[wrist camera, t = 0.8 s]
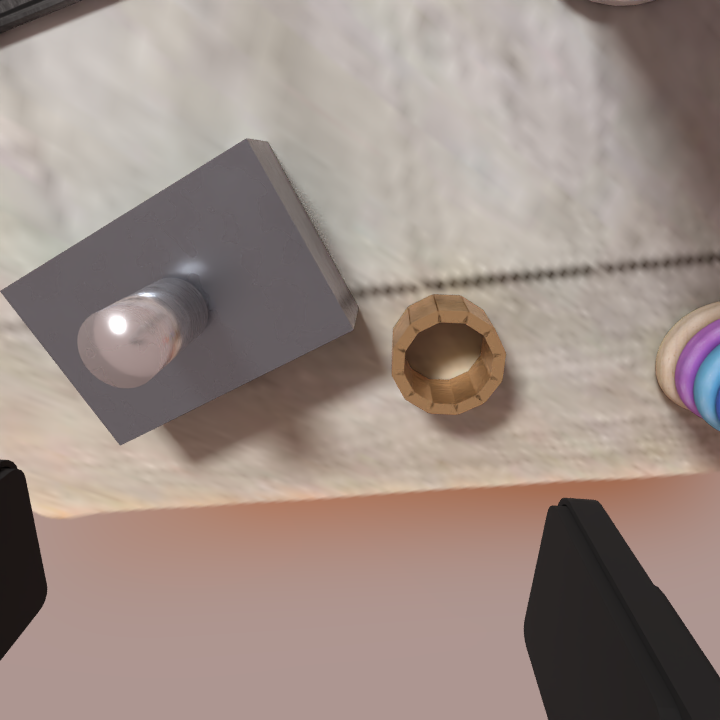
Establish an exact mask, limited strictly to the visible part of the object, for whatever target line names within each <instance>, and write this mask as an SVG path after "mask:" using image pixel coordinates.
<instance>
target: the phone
mask: <svg viewBox="0 0 720 720" xmlns="http://www.w3.org/2000/svg"><path fill="white" fill-rule="evenodd" d="M79 1H81V0H0V33H2V32H4V31H7V30H9V29H12V28H14V27H17V26H19V25H22V24H24V23H27V22H29V21H32V20H34V19H37V18H39V17H42V16H44V15H47V14H49V13H52V12H54V11H57V10H59V9H61V8H64V7H66V6H69V5H71V4H74V3H76V2H79Z"/></svg>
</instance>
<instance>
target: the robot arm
mask: <svg viewBox="0 0 720 720" xmlns="http://www.w3.org/2000/svg"><path fill="white" fill-rule="evenodd" d="M589 1H592V2H596V3H601V4H607V5H612V6H622V5H638V4H642V3H646V2H650V1H654V0H589ZM46 595H47V583H46V578H45V573H44V568H43V564H42V558H41V554H40V548H39V543H38V538H37V533H36V528H35V523H34V518H33V513H32V508H31V503H30V498H29V493H28V488H27V483H26V478H25V475H24V473H23V472H22V471H21V470H19V469H17V466H16V465H15V464H14V462H12V461H9V460H0V660H1V659H2V658H3V657H4V655H5V654H6V653H7V651H8V650H9V649H10V648H11V646H12V645H13V644H14V642H15V641H16V640H17V639H18V637H19V636H20V635H21V634H22V632H23V631H24V630H25V628H26V627H27V626H28V625H29V623H30V622H31V621H32V619H33V618H34V617H35V616H36V614H37V613H38V612H39V610H40V609H41V608H42V606H43V604H44V602H45V599H46ZM524 637H525V643H526V647H527V651H528V654H529V657H530V661H531V664H532V667H533V670H534V674H535V677H536V680H537V684H538V687H539V690H540V694H541V697H542V700H543V703H544V707H545V710H546V713H547V717H548V720H720V677H719V675H718V674H717V673H716V671H715V670H714V668H713V666H712V665H711V663H710V662H709V660H708V659H707V657H706V656H705V655H704V653H703V651H702V650H701V649H700V647H699V646H698V644H697V643H696V641H695V639H694V638H693V636H692V635H691V634H690V632H689V630H688V629H687V627H686V626H685V624H684V623H683V622H682V620H681V618H680V617H679V615H678V614H677V612H676V611H675V609H674V608H673V607H672V605H671V603H670V602H669V600H668V599H667V597H666V596H665V595H664V594H663V593H662V591H661V590H660V589H659V588H658V587H657V586H655V585H654V584H653V583H652V581H651V580H650V578H649V577H648V575H647V574H646V572H645V571H644V569H643V567H642V566H641V565H640V563H639V561H638V560H637V558H636V557H635V555H634V554H633V552H632V551H631V550H630V548H629V546H628V545H627V543H626V542H625V540H624V539H623V537H622V535H621V534H620V533H619V531H618V529H617V528H616V527H615V525H614V523H613V522H612V520H611V519H610V517H609V516H608V514H607V513H606V511H605V510H604V508H603V507H602V505H601V504H600V503H599V502H598V501H596V500H589V499H588V500H587V499H574V498H562V499H561V500H560V502H559V504H558V506H550V507H549V509H548V512H547V517H546V522H545V526H544V531H543V536H542V540H541V545H540V550H539V555H538V560H537V564H536V569H535V574H534V578H533V583H532V588H531V592H530V598H529V602H528V607H527V611H526V616H525V622H524Z"/></svg>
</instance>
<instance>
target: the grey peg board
mask: <svg viewBox="0 0 720 720" xmlns="http://www.w3.org/2000/svg"><path fill="white" fill-rule="evenodd" d="M0 292H1V293H2V294H3V296H4V297H5V298H6V299H7V301H8V302H9V303H10V305H11V306H12V307H13V308H14V310H15V311H16V312H17V314H18V315H19V316H20V317H21V319H22V320H23V321H24V323H25V324H26V325H27V326H28V328H29V329H30V330H31V332H32V333H33V334H34V335H35V337H36V338H37V339H38V341H39V342H40V343H41V344H42V346H43V347H44V348H45V350H46V351H47V352H48V353H49V355H50V356H51V357H52V359H53V360H54V361H55V362H56V364H57V365H58V366H59V368H60V369H61V370H62V371H63V373H64V374H65V375H66V377H67V378H68V379H69V380H70V382H71V383H72V384H73V386H74V387H75V388H76V389H77V391H78V392H79V393H80V395H81V396H82V397H83V398H84V400H85V401H86V402H87V404H88V405H89V406H90V407H91V409H92V410H93V411H94V413H95V414H96V415H97V416H98V418H99V419H100V420H101V422H102V423H103V424H104V425H105V427H106V428H107V429H108V431H109V432H110V433H111V434H112V436H113V437H114V438H115V440H116V441H117V442H118V443H119V445H122V444H124V443H126V442H128V441H130V440H133V439H135V438H137V437H139V436H141V435H143V434H145V433H147V432H149V431H151V430H153V429H155V428H157V427H159V426H161V425H163V424H165V423H167V422H169V421H171V420H173V419H175V418H177V417H179V416H181V415H183V414H185V413H187V412H189V411H191V410H193V409H195V408H197V407H199V406H201V405H203V404H205V403H207V402H209V401H211V400H213V399H215V398H217V397H219V396H221V395H223V394H225V393H227V392H229V391H231V390H233V389H235V388H237V387H239V386H241V385H243V384H245V383H247V382H249V381H251V380H253V379H255V378H257V377H259V376H262V375H264V374H266V373H268V372H270V371H272V370H274V369H276V368H278V367H280V366H282V365H284V364H286V363H288V362H290V361H292V360H294V359H296V358H298V357H300V356H302V355H304V354H306V353H308V352H310V351H312V350H314V349H316V348H318V347H320V346H322V345H324V344H326V343H328V342H330V341H332V340H334V339H336V338H338V337H340V336H342V335H344V334H346V333H348V332H350V331H352V330H354V326H355V321H356V317H357V312H358V308H359V307H358V306H357V304H356V302H355V300H354V298H353V297H352V295H351V293H350V291H349V289H348V287H347V286H346V284H345V282H344V280H343V278H342V276H341V275H340V273H339V271H338V269H337V267H336V266H335V264H334V262H333V260H332V258H331V256H330V255H329V253H328V251H327V249H326V247H325V245H324V244H323V242H322V240H321V238H320V236H319V235H318V233H317V231H316V229H315V227H314V225H313V224H312V222H311V220H310V218H309V216H308V215H307V213H306V211H305V209H304V207H303V205H302V204H301V202H300V200H299V198H298V196H297V194H296V193H295V191H294V189H293V187H292V185H291V184H290V182H289V180H288V178H287V176H286V174H285V173H284V171H283V169H282V167H281V165H280V163H279V162H278V160H277V158H276V156H275V154H274V153H273V151H272V149H271V147H270V145H269V143H268V142H267V141H261V140H254V139H247V138H246V139H245V140H243V141H241V142H240V143H238V144H237V145H235V146H233V147H232V148H230V149H229V150H227V151H225V152H224V153H222V154H220V155H219V156H217V157H216V158H214V159H212V160H211V161H209V162H208V163H206V164H204V165H203V166H201V167H199V168H198V169H196V170H195V171H193V172H191V173H190V174H188V175H187V176H185V177H183V178H182V179H180V180H179V181H177V182H175V183H174V184H172V185H170V186H169V187H167V188H166V189H164V190H162V191H161V192H159V193H158V194H156V195H154V196H153V197H151V198H149V199H148V200H146V201H145V202H143V203H141V204H140V205H138V206H137V207H135V208H133V209H132V210H130V211H129V212H127V213H125V214H124V215H122V216H120V217H119V218H117V219H116V220H114V221H112V222H111V223H109V224H108V225H106V226H104V227H103V228H101V229H99V230H98V231H96V232H95V233H93V234H91V235H90V236H88V237H87V238H85V239H83V240H82V241H80V242H79V243H77V244H75V245H74V246H72V247H70V248H69V249H67V250H66V251H64V252H62V253H61V254H59V255H58V256H56V257H54V258H53V259H51V260H49V261H48V262H46V263H45V264H43V265H41V266H40V267H38V268H37V269H35V270H33V271H32V272H30V273H29V274H27V275H25V276H24V277H22V278H20V279H19V280H17V281H16V282H14V283H12V284H11V285H9V286H8V287H6V288H4V289H3V290H1V291H0Z"/></svg>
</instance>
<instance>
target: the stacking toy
mask: <svg viewBox="0 0 720 720" xmlns="http://www.w3.org/2000/svg"><path fill="white" fill-rule="evenodd" d="M656 376H657V380H658V383H659V385H660V387H661V389H662V390H663V392H664V393H665V394H666V396H667V397H668V398H669V399H670V400H672V401H673V402H674V403H676V404H677V405H679V406H681V407H683V408H685V409H688V410H690V411H692V412H693V413H694V414H696V415H697V416H699V417H701V418H703V419H704V420H705V421H706V422H707V423H708V424H709V425H711V426H712V427H713V428H715V429H716V430H718V431H720V302H715V303H712V304H708V305H705V306H703V307H700V308H698V309H696V310H694V311H692V312H691V313H689V314H687V315H686V316H684V317H683V318H682V319H681V320H679V321H678V322H677V323H676V324H675V325H674V326H673V327H672V328H671V329H670V331H669V332H668V333H667V334H666V336H665V337H664V339H663V341H662V343H661V345H660V347H659V350H658V353H657V358H656Z"/></svg>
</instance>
